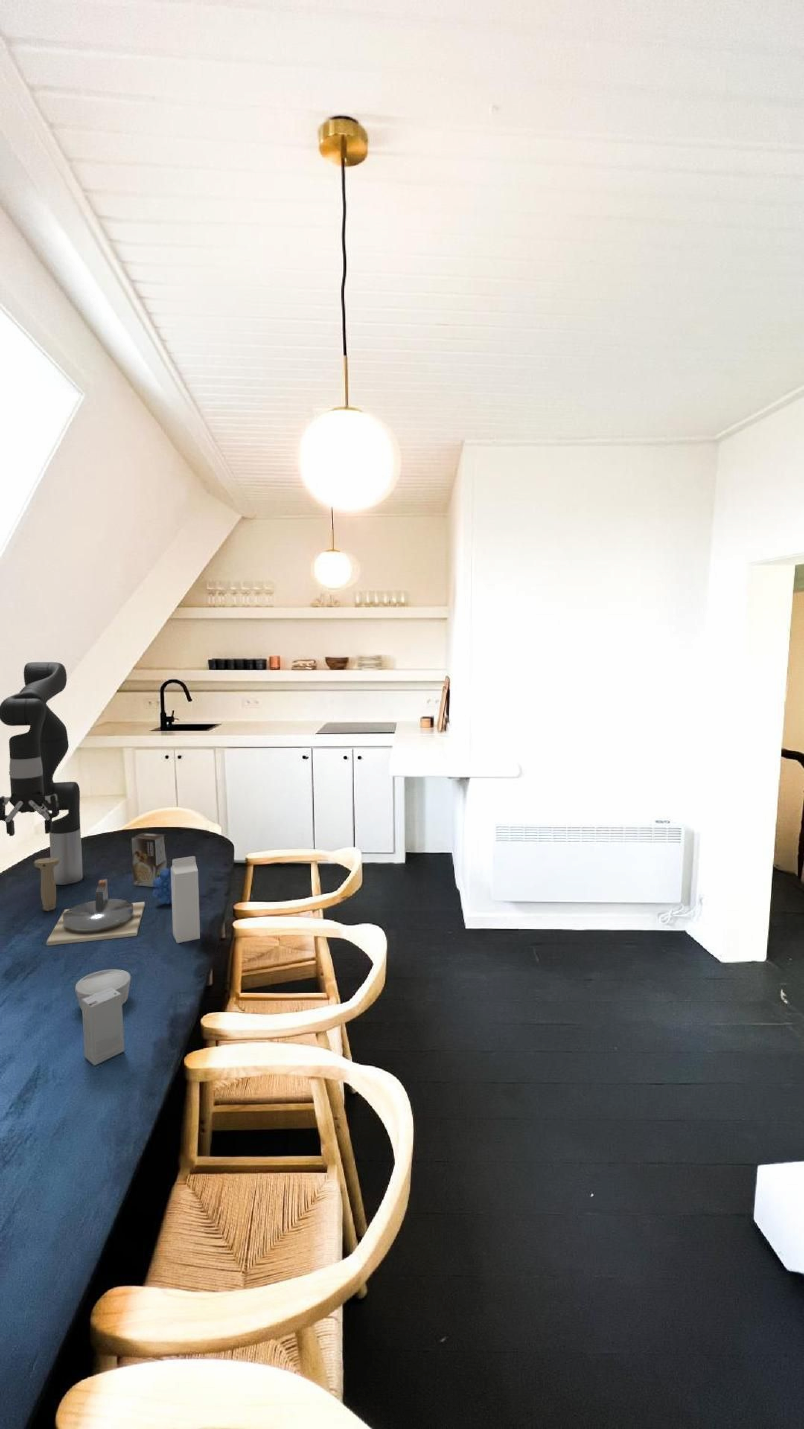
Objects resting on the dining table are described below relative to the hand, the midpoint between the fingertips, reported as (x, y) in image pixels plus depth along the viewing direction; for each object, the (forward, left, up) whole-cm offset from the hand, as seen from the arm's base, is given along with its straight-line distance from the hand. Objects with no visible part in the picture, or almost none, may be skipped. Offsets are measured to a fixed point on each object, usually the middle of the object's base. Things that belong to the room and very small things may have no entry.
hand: (29, 834), depth 175 cm
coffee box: (-34, +26, -29) cm, 51 cm away
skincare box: (+61, +26, -29) cm, 72 cm away
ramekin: (+41, +23, -29) cm, 55 cm away
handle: (-19, -1, -28) cm, 34 cm away
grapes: (-15, +34, -28) cm, 47 cm away
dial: (-4, +15, -27) cm, 31 cm away
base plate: (-4, +15, -28) cm, 32 cm away
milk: (+11, +39, -29) cm, 50 cm away
